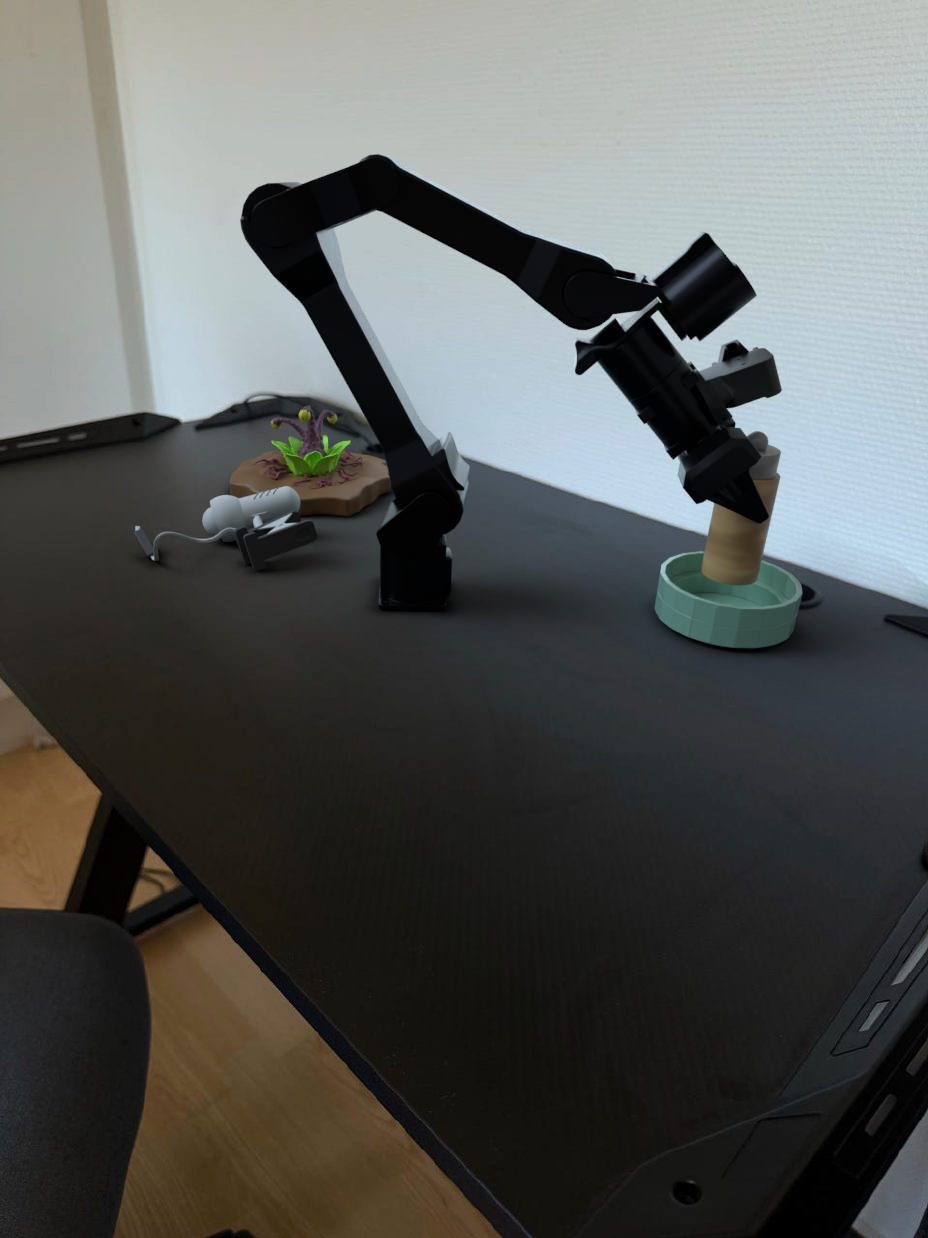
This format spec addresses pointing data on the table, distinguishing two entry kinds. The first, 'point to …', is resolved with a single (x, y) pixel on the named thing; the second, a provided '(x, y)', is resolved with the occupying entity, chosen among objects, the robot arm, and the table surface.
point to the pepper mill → (743, 525)
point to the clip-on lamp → (249, 526)
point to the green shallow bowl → (727, 604)
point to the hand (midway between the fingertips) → (757, 509)
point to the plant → (314, 471)
